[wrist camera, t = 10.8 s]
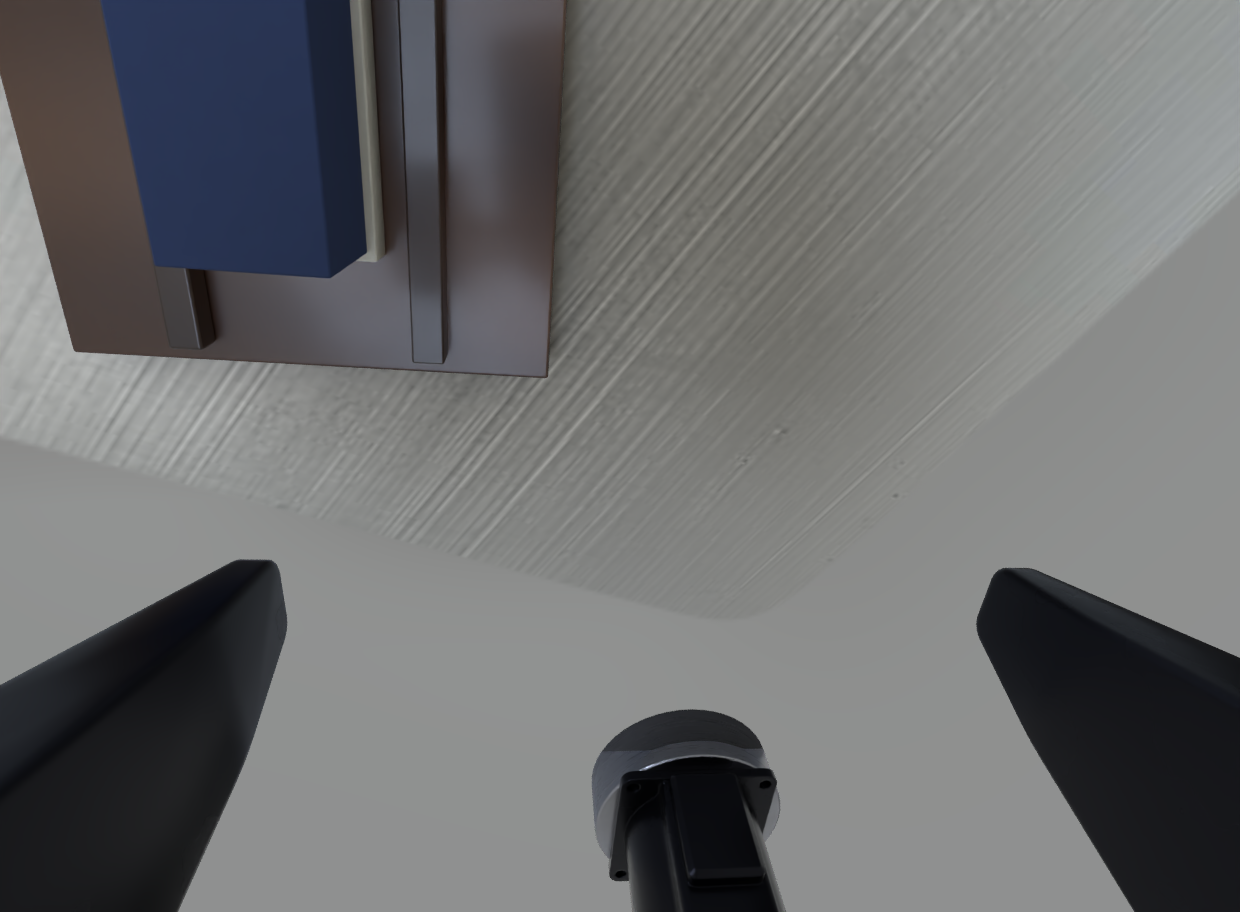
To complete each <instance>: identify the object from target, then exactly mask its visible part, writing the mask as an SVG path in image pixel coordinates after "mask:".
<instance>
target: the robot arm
mask: <svg viewBox="0 0 1240 912" xmlns="http://www.w3.org/2000/svg"><path fill="white" fill-rule="evenodd" d="M976 625H977V632H978V636H979V638H980V641H981V643H982V645H983V647H984V649H985V651H986V653H987V655H988V657H989V659H990V661H991V663H992V665H993V667H994V669H995V671H996V673H997V675H998V677H999V679H1000V681H1001V683H1002V685H1003V687H1004V689H1005V691H1006V693H1007V695H1008V697H1009V699H1010V701H1011V703H1012V705H1013V708H1014V710H1015V712H1016V714H1017V716H1018V717H1019V719H1020V722H1021V724H1022V725H1023V728H1024V729H1025V731H1026V733H1027V735H1028V737H1029V739H1030V741H1031V743H1032V744H1033V746H1034V747H1035V750H1036V751H1037V753H1038V755H1039V757H1040V758H1041V760H1042V762H1043V763H1044V765H1045V766H1046V768H1047V770H1048V771H1049V773H1050V774H1051V776H1052V778H1053V780H1054V781H1055V783H1056V784H1057V786H1058V788H1059V789H1060V791H1061V793H1062V794H1063V796H1064V798H1065V799H1066V801H1067V802H1068V804H1069V806H1070V807H1071V809H1072V811H1073V812H1074V814H1075V816H1076V817H1077V819H1078V820H1079V822H1080V824H1081V825H1082V827H1083V829H1084V830H1085V832H1086V834H1087V835H1088V837H1089V838H1090V840H1091V842H1092V843H1093V845H1094V847H1095V848H1096V850H1097V852H1098V853H1099V855H1100V856H1101V858H1102V860H1103V861H1104V863H1105V865H1106V866H1107V868H1108V870H1109V871H1110V873H1111V874H1112V876H1113V878H1114V879H1115V881H1116V883H1117V884H1118V886H1119V887H1120V889H1121V891H1122V892H1123V894H1124V896H1125V897H1126V899H1127V900H1128V902H1129V904H1130V905H1131V907H1132V909H1133V910H1134V912H1240V658H1239V657H1237V656H1234V655H1232V654H1230V653H1227V652H1225V651H1223V650H1220V649H1218V648H1216V647H1213V646H1211V645H1209V644H1206V643H1204V642H1202V641H1199V640H1197V639H1195V638H1192V637H1190V636H1188V635H1186V634H1183V633H1181V632H1179V631H1176V630H1174V629H1172V628H1169V627H1167V626H1165V625H1162V624H1160V623H1157V622H1155V621H1153V620H1151V619H1148V618H1146V617H1144V616H1141V615H1139V614H1137V613H1134V612H1132V611H1130V610H1127V609H1125V608H1123V607H1120V606H1118V605H1116V604H1114V603H1111V602H1109V601H1107V600H1104V599H1102V598H1100V597H1097V596H1095V595H1093V594H1090V593H1088V592H1086V591H1083V590H1081V589H1079V588H1076V587H1074V586H1072V585H1069V584H1067V583H1065V582H1062V581H1060V580H1058V579H1055V578H1053V577H1051V576H1048V575H1046V574H1044V573H1042V572H1039V571H1037V570H1034V569H1030V568H1003V569H1001V570H998V571H997V572H996V573H995V574H994V576H993V578H992V579H991V582H990V585H989V588H988V590H987V593H986V595H985V598H984V600H983V603H982V606H981V608H980V611H979V614H978V617H977V623H976ZM286 631H287V615H286V608H285V602H284V596H283V590H282V583H281V577H280V572H279V569H278V567H277V564H276V563H274V562H273V561H272V560H244V559H243V560H242V559H240V560H236V561H233V562H231V563H229V564H227V565H225V566H223V567H221V568H220V569H218V570H216V571H214V572H212V573H210V574H208V575H206V576H205V577H203V578H201V579H199V580H197V581H195V582H194V583H191V584H190V585H188V586H186V587H184V588H182V589H180V590H178V591H176V592H174V593H173V594H171V595H169V596H167V597H165V598H163V599H161V600H159V601H157V602H156V603H154V604H152V605H150V606H148V607H146V608H144V609H142V610H141V611H139V612H137V613H135V614H133V615H131V616H129V617H127V618H126V619H124V620H122V621H120V622H118V623H116V624H114V625H112V626H110V627H109V628H107V629H105V630H103V631H101V632H99V633H97V634H95V635H94V636H92V637H90V638H88V639H86V640H84V641H82V642H81V643H79V644H77V645H75V646H73V647H71V648H69V649H67V650H65V651H63V652H62V653H60V654H58V655H56V656H54V657H52V658H50V659H48V660H47V661H45V662H43V663H41V664H39V665H37V666H35V667H33V668H32V669H30V670H28V671H26V672H24V673H22V674H20V675H18V676H17V677H15V678H13V679H11V680H9V681H7V682H5V683H3V684H2V685H0V912H178V910H179V908H180V906H181V904H182V902H183V899H184V897H185V895H186V893H187V890H188V888H189V886H190V884H191V881H192V879H193V877H194V875H195V873H196V870H197V868H198V866H199V864H200V862H201V859H202V857H203V855H204V853H205V850H206V848H207V846H208V844H209V842H210V839H211V837H212V835H213V833H214V830H215V828H216V826H217V824H218V821H219V819H220V817H221V815H222V813H223V810H224V808H225V806H226V804H227V801H228V799H229V797H230V795H231V793H232V790H233V788H234V786H235V783H236V782H237V779H238V777H239V774H240V772H241V770H242V767H243V765H244V762H245V760H246V757H247V754H248V752H249V749H250V746H251V743H252V740H253V737H254V734H255V731H256V728H257V724H258V721H259V718H260V715H261V711H262V709H263V706H264V703H265V699H266V696H267V693H268V690H269V687H270V683H271V680H272V678H273V674H274V671H275V668H276V665H277V662H278V659H279V655H280V652H281V649H282V646H283V643H284V640H285V636H286ZM776 785H777V780H776V778H775V775H774V772H773V771H772V770H771V769H768V768H742V769H696V770H650V771H630V772H627V773H625V774H624V775H623V776H622V777H621V779H620V786H619V793H618V801H617V808H616V815H615V823H614V830H613V837H612V845H611V852H610V859H609V874H610V878H611V879H612V880H614V881H629V884H630V894H631V903H632V912H786V910H785V907H784V904H783V900H782V897H781V894H780V891H779V887H778V884H777V881H776V878H775V874H774V871H773V868H772V865H771V862H770V858H769V855H768V852H767V848H766V845H765V842H764V839H763V831H764V828H765V824H766V821H767V817H768V814H769V810H770V807H771V803H772V800H773V796H774V793H775V789H776Z"/></svg>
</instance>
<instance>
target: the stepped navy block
mask: <svg viewBox="0 0 1240 912" xmlns="http://www.w3.org/2000/svg"><path fill="white" fill-rule="evenodd" d="M101 5H102V10H103V15H104V20H105V25H106V30H107V35H108V40H109V45H110V50H111V55H112V59H113V64H114V69H115V74H116V79H117V84H118V89H119V94H120V99H121V104H122V109H123V113H124V118H125V123H126V128H127V133H128V138H129V143H130V148H131V153H132V158H133V163H134V168H135V172H136V177H137V182H138V187H139V192H140V197H141V202H142V207H143V212H144V217H145V222H146V227H147V231H148V236H149V241H150V246H151V251H152V256H153V261H154V265H155V266H158V267H171V268H186V269H200V270H214V271H228V272H243V273H257V274H271V275H285V276H300V277H314V278H328V279H329V278H332V277H333V276H335V275H336V274H337V273H339V272H340V271H342V270H343V269H345V268H346V267H347V266H349V265H350V264H352V263H353V262H355V261H364V262H377V261H378V260H380V259H381V258H382V257H383V256H385V237H384V220H383V203H382V185H381V168H380V150H379V133H378V116H377V98H376V81H375V63H374V46H373V29H372V11H371V0H101Z"/></svg>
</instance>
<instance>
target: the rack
mask: <svg viewBox="0 0 1240 912" xmlns="http://www.w3.org/2000/svg"><path fill="white" fill-rule="evenodd" d="M566 10H567V0H371V11H372V29H373V46H374V63H375V81H376V98H377V116H378V133H379V150H380V168H381V185H382V203H383V220H384V237H385V256H383V257H382V258H381V259H380V260H378V261H377V262H364V261H355V262H353V263H352V264H350V265H349V266H347V267H346V268H345V269H343V270H342V271H340V272H339V273H337V274H336V275H335V276H333V277H332V278H329V279H328V278H314V277H300V276H285V275H271V274H257V273H243V272H228V271H214V270H200V269H186V268H171V267H158V266H155V265H154V261H153V256H152V251H151V246H150V241H149V236H148V231H147V227H146V222H145V217H144V212H143V207H142V202H141V197H140V192H139V187H138V182H137V177H136V172H135V168H134V163H133V158H132V153H131V148H130V143H129V138H128V133H127V128H126V123H125V118H124V113H123V109H122V104H121V99H120V94H119V89H118V84H117V79H116V74H115V69H114V64H113V59H112V55H111V50H110V45H109V40H108V35H107V30H106V25H105V20H104V15H103V10H102V5H101V0H0V75H1V79H2V83H3V86H4V90H5V94H6V98H7V101H8V105H9V109H10V113H11V116H12V120H13V124H14V128H15V131H16V135H17V139H18V143H19V146H20V150H21V154H22V158H23V161H24V165H25V169H26V173H27V176H28V180H29V184H30V188H31V192H32V195H33V199H34V203H35V207H36V210H37V214H38V218H39V222H40V225H41V229H42V233H43V237H44V240H45V244H46V248H47V252H48V255H49V259H50V263H51V267H52V270H53V274H54V278H55V282H56V285H57V289H58V293H59V297H60V300H61V304H62V308H63V312H64V315H65V319H66V323H67V327H68V330H69V334H70V338H71V342H72V345H73V349H74V351H76V352H87V353H105V354H123V355H141V356H159V357H177V358H195V359H213V360H230V361H248V362H266V363H284V364H302V365H320V366H338V367H356V368H374V369H392V370H410V371H428V372H446V373H464V374H482V375H500V376H518V377H536V378H547V377H548V368H549V348H550V329H551V309H552V289H553V269H554V249H555V229H556V209H557V189H558V169H559V150H560V130H561V110H562V90H563V70H564V50H565V30H566Z"/></svg>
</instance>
